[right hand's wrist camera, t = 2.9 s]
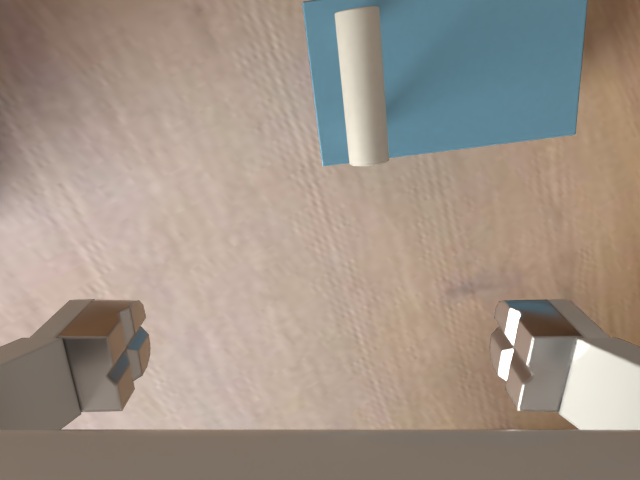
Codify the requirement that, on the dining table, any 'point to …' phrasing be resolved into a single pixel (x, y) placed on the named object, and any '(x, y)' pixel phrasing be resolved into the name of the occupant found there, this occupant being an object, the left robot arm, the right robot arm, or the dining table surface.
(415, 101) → the lid
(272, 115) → the dining table surface
